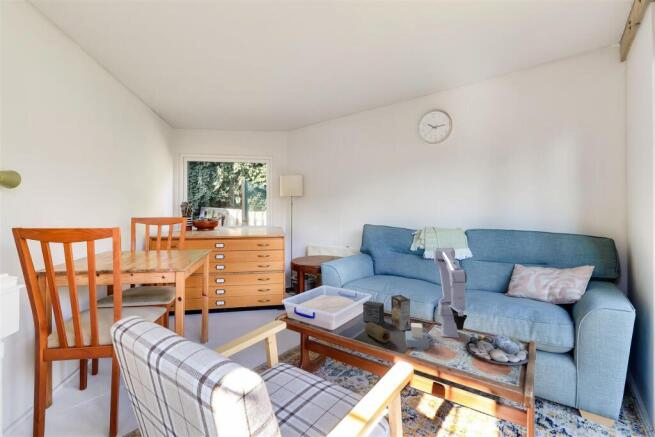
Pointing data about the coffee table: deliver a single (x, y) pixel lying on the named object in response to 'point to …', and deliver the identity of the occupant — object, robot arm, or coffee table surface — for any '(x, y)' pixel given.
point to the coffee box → (400, 312)
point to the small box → (373, 312)
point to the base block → (416, 340)
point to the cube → (416, 330)
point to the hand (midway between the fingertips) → (458, 326)
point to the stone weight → (377, 332)
